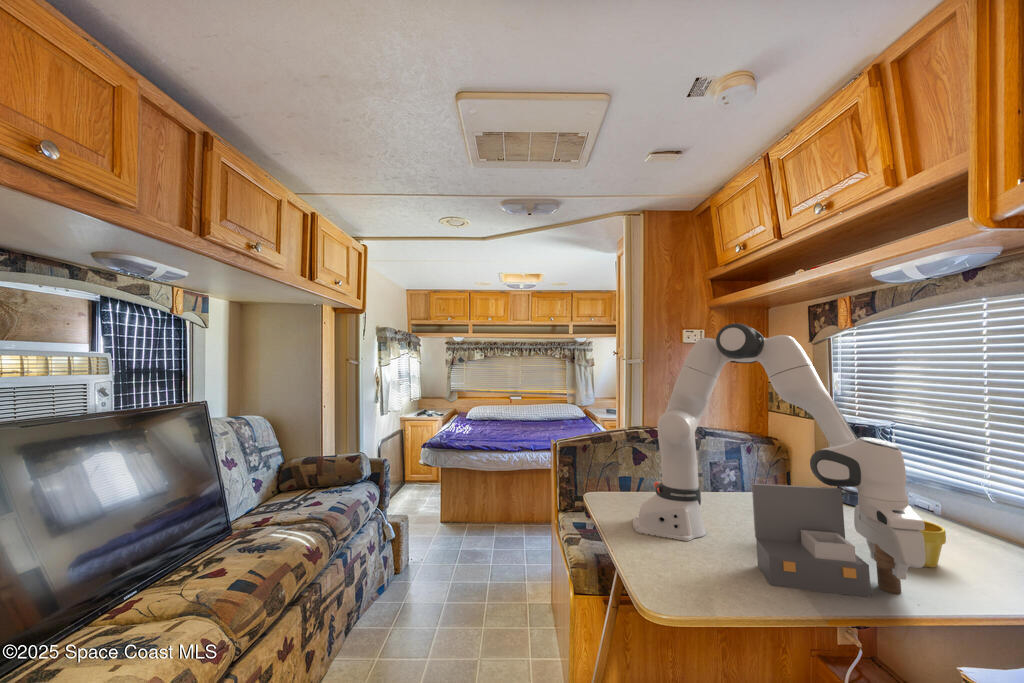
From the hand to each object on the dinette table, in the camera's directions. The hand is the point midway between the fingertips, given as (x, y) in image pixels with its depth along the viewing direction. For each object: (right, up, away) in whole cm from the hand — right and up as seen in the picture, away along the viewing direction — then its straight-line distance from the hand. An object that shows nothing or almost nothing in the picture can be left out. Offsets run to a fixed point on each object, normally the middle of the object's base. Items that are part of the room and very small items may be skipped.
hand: (887, 568), depth 94 cm
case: (-15, -5, +4) cm, 17 cm away
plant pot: (+20, -5, +13) cm, 25 cm away
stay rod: (0, -5, 0) cm, 5 cm away
